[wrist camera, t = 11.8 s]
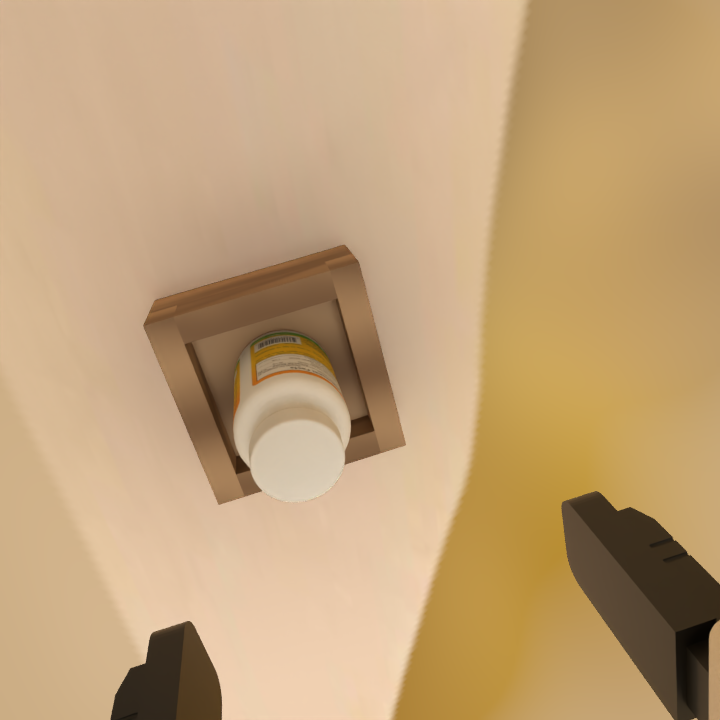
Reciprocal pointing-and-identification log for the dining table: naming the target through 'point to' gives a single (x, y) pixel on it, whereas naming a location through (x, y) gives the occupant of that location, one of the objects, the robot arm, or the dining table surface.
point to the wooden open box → (255, 318)
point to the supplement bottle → (289, 416)
